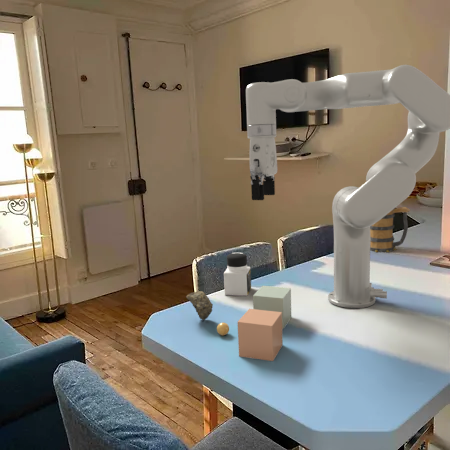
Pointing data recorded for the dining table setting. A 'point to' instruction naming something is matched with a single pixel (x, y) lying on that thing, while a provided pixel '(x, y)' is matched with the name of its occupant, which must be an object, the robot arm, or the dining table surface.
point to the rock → (201, 304)
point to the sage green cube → (274, 301)
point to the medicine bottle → (237, 275)
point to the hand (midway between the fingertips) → (263, 197)
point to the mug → (387, 232)
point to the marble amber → (223, 328)
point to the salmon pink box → (260, 334)
